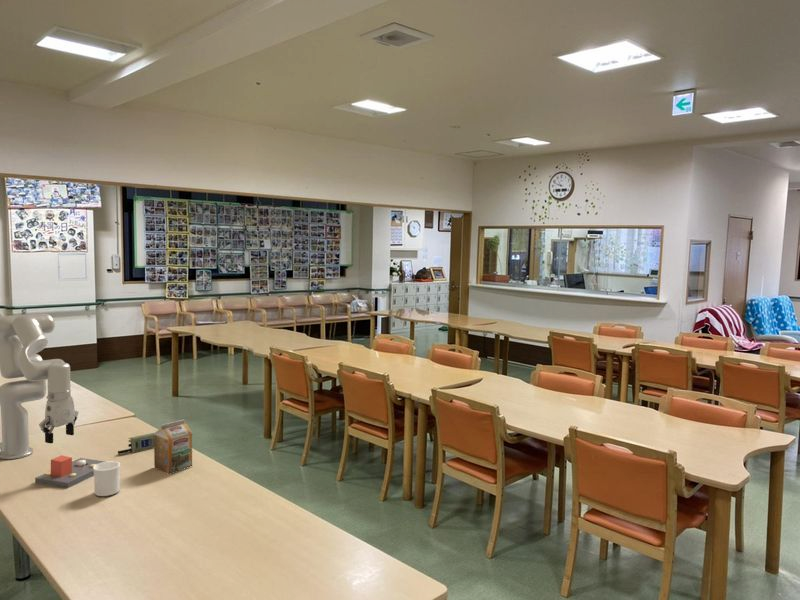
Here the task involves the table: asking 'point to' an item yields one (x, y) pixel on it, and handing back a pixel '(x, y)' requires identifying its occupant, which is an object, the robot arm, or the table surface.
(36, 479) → the panel
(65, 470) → the cap
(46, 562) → the table surface
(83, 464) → the white egg
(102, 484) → the mug
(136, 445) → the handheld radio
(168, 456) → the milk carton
